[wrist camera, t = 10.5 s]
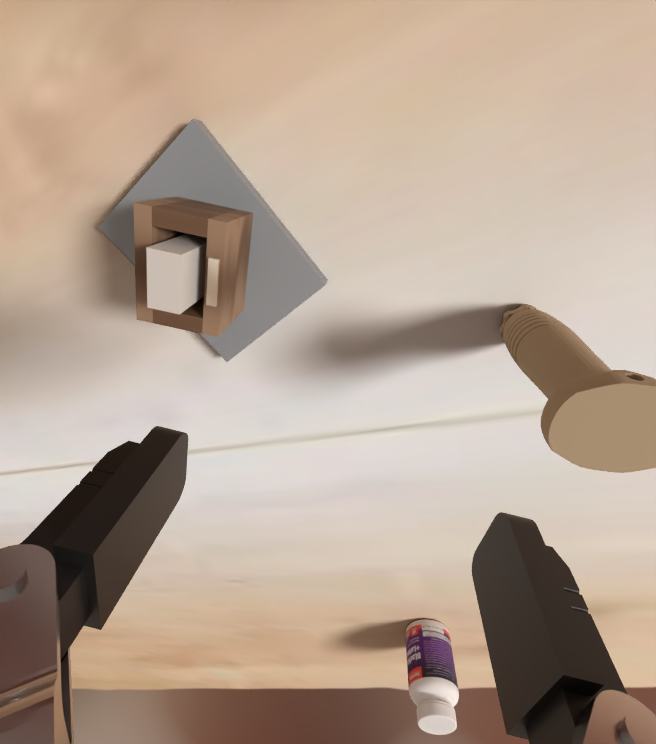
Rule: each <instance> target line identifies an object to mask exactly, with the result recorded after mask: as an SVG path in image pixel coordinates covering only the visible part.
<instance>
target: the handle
mask: <svg viewBox="0 0 656 744" xmlns="http://www.w3.org/2000/svg"><path fill="white" fill-rule="evenodd" d="M499 331H500V334H501V336H502V337H503V338H504V341H505V344H506V346H507V349H508V351H509V352H510V354H511V356H512V358H513V359H514V361H515V362H516V363H517V365H518V366H519V367H520V369H521V370H522V371H523V372H524V373H525V374H526V375H527V376H528V378H529V379H530V380H531V381H532V382H533V383H534V384H535V385H536V386H537V387H538V388H539V389H540V390H541V391H542V392H543V393H544V395H545V396H546V397H547V398H548V401H547V403H546V405H545V407H544V410H543V413H542V416H541V429H542V433H543V436H544V438H545V440H546V442H547V444H548V445H549V447H550V448H551V450H552V451H554V452H555V453H557V454H558V455H560V456H561V457H563V458H565V459H566V460H568V461H570V462H571V463H573V464H576V465H578V466H580V467H584V468H588V469H593V470H600V471H608V472H619V473H624V472H634V471H640V470H646V469H651V468H656V379H654V378H651V377H648V376H645V375H641V374H638V373H634V372H630V371H626V370H611V369H610V368H609V367H608V366H607V365H606V364H605V363H604V362H603V361H602V360H601V359H600V358H598V357H597V356H596V355H595V353H594V352H593V351H592V350H591V349H590V348H589V347H588V346H587V345H586V344H585V343H584V342H583V341H582V340H581V339H580V338H579V337H578V336H577V335H576V334H575V333H574V332H573V331H572V330H571V329H569V328H568V327H567V326H566V325H564V324H563V323H562V322H560V321H559V320H557V319H555V318H554V317H552V316H550V315H549V314H547V313H544V312H542V311H539V310H536V308H535V307H533V306H531V305H528V304H522V305H521V306H520V307H519V308H517V309H515V310H511V311H506V312H505V313H504V314H503V322H502V324H501V326H500V327H499Z"/></svg>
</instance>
